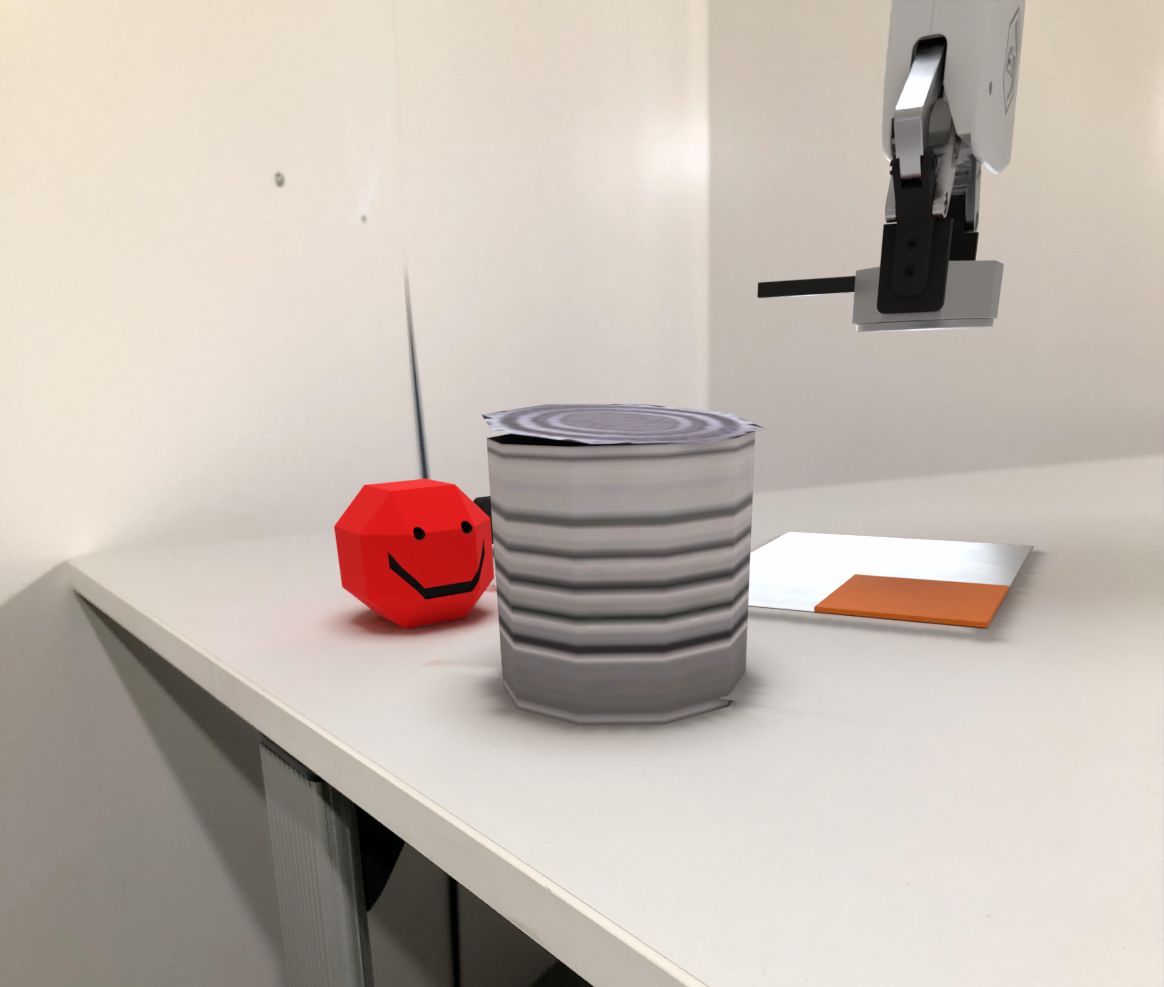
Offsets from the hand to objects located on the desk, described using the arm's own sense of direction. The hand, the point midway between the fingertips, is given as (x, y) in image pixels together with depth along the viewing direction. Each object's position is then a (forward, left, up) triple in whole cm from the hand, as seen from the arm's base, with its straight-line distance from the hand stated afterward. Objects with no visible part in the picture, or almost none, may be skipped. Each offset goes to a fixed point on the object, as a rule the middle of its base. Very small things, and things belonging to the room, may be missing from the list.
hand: (925, 310), depth 51 cm
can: (+20, +10, -16) cm, 28 cm away
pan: (+2, -2, -1) cm, 3 cm away
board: (-1, -6, -16) cm, 17 cm away
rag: (+1, +3, -15) cm, 15 cm away
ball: (+28, -6, -16) cm, 33 cm away
